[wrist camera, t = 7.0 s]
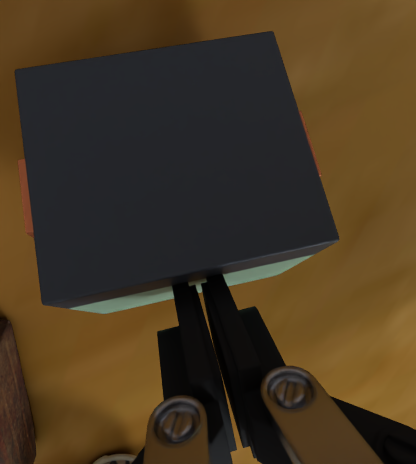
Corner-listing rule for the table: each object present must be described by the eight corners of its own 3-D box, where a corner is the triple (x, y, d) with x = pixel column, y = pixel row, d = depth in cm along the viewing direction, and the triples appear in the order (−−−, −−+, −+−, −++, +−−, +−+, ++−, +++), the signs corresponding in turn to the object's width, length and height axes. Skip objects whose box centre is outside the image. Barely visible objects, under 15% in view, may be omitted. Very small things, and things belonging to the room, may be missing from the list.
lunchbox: (253, 136, 18) (291, 26, 12) (291, 272, 17) (361, 236, 10) (67, 170, 17) (-9, 71, 11) (89, 317, 16) (16, 311, 9)
